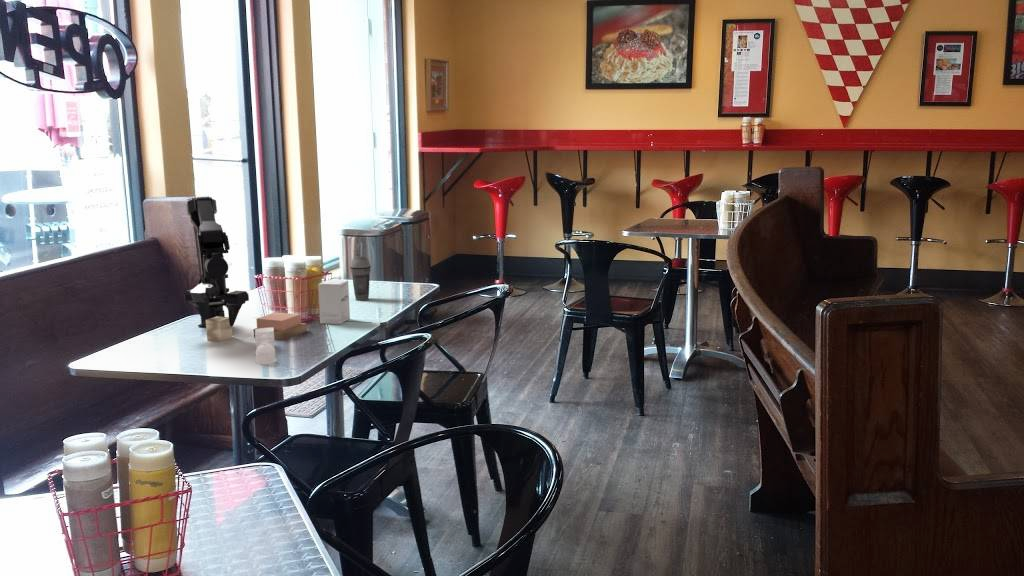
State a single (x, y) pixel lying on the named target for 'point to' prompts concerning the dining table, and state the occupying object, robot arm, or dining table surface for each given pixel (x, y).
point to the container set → (265, 345)
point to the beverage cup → (360, 276)
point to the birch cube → (218, 328)
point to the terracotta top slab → (279, 321)
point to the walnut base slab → (289, 332)
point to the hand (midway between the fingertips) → (218, 324)
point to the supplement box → (334, 301)
